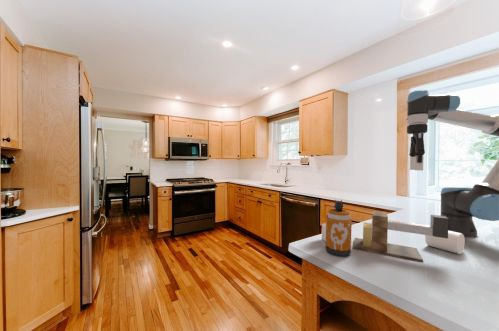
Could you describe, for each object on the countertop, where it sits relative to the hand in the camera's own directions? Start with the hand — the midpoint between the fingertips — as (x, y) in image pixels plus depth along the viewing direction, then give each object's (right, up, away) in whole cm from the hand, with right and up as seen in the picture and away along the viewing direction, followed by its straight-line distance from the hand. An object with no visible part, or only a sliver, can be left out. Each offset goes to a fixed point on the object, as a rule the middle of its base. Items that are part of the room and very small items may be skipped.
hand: (416, 170), depth 98 cm
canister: (-44, -31, -16) cm, 56 cm away
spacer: (-29, -27, -11) cm, 41 cm away
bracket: (-24, -32, -14) cm, 42 cm away
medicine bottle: (-41, -31, -6) cm, 52 cm away
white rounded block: (+3, -32, -12) cm, 34 cm away
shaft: (-16, -23, -18) cm, 34 cm away
